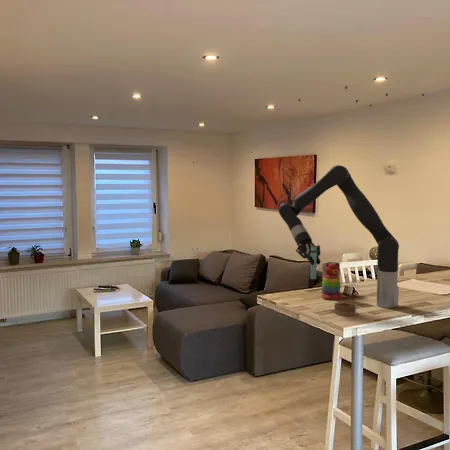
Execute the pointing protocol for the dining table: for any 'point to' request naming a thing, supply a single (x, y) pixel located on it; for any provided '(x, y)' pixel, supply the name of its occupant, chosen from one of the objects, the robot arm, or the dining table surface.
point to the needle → (314, 256)
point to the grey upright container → (324, 269)
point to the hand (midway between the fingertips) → (316, 263)
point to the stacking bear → (331, 283)
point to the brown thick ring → (345, 309)
